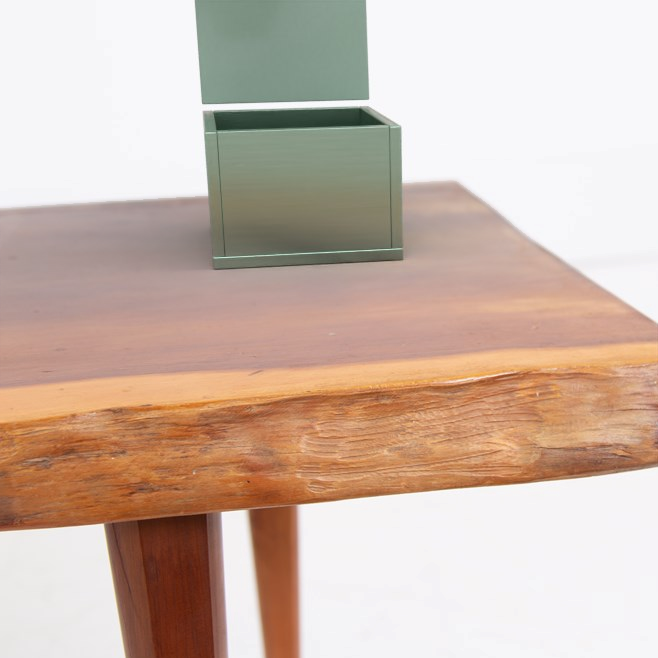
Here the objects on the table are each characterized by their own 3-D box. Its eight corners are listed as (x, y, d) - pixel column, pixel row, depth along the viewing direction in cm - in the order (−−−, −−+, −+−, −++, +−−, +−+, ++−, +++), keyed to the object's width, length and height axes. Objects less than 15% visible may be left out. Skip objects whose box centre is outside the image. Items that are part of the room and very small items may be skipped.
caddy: (403, 259, 75) (401, 125, 72) (213, 269, 73) (204, 131, 70) (371, 220, 89) (368, 105, 86) (210, 227, 87) (202, 110, 84)
